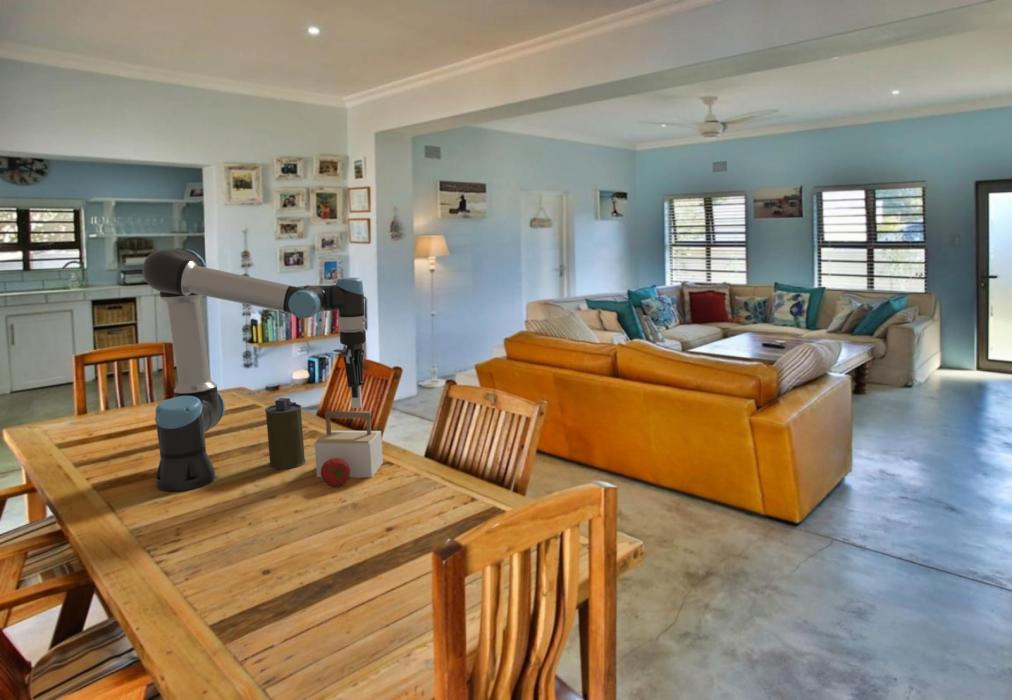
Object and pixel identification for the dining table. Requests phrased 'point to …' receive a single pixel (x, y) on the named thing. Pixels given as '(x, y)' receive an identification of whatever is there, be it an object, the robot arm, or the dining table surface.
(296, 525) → the dining table surface
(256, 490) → the dining table surface
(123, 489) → the dining table surface
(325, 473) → the tomato
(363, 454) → the carton
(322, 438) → the flap
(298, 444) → the canister
